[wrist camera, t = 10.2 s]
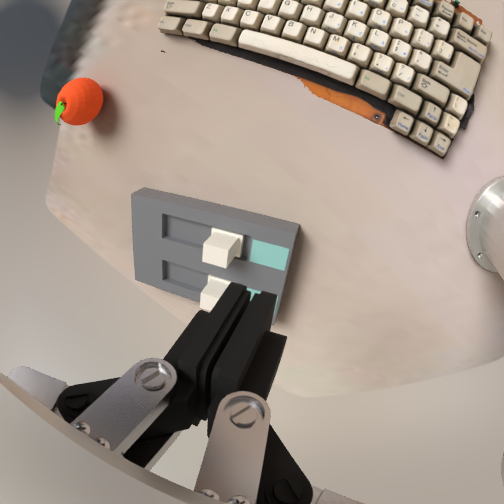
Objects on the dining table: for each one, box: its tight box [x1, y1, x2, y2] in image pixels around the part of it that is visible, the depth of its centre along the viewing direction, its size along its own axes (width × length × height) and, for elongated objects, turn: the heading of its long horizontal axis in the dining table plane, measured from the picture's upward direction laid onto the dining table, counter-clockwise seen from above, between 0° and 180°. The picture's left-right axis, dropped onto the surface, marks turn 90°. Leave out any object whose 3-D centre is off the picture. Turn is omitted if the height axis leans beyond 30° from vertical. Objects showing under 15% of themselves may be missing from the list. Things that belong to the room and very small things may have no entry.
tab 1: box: [202, 226, 245, 268], centre depth 37 cm, size 4×3×4 cm
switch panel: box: [131, 188, 300, 326], centre depth 42 cm, size 22×14×3 cm, turn 82°
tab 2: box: [200, 274, 237, 311], centre depth 41 cm, size 4×3×4 cm
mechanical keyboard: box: [158, 0, 492, 159], centre depth 25 cm, size 38×19×3 cm, turn 72°
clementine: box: [55, 78, 103, 125], centre depth 35 cm, size 8×7×7 cm
